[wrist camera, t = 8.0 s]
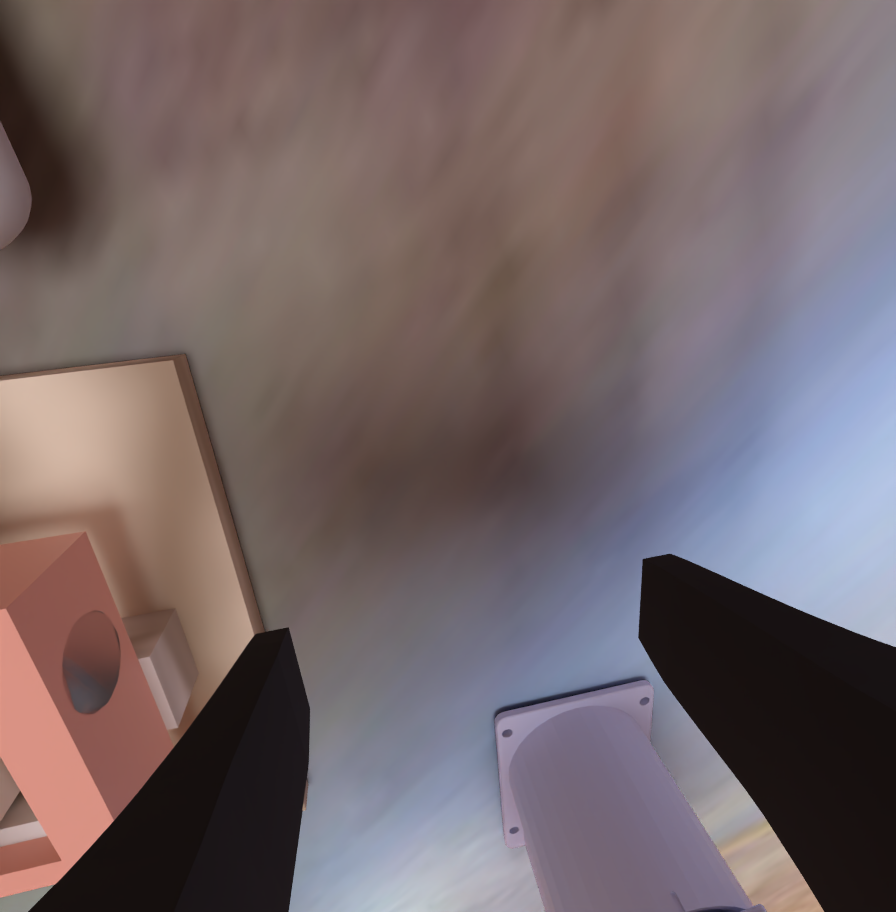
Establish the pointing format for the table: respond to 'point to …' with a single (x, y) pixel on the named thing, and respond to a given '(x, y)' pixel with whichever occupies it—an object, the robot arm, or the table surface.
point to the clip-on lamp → (12, 193)
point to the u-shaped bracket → (68, 705)
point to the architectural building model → (131, 524)
